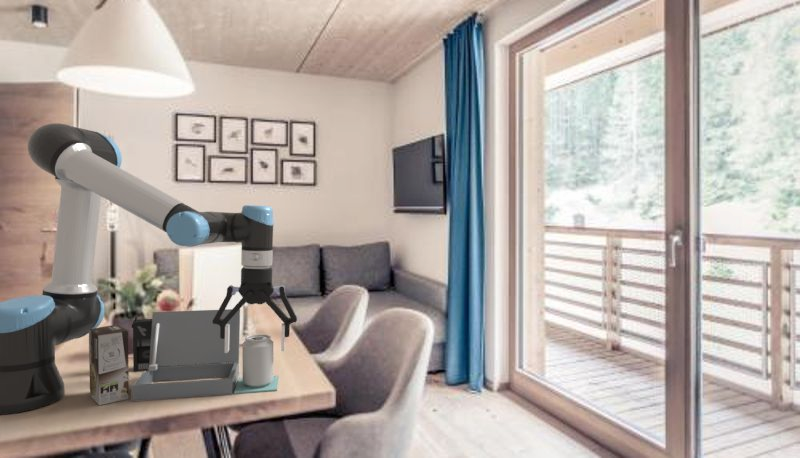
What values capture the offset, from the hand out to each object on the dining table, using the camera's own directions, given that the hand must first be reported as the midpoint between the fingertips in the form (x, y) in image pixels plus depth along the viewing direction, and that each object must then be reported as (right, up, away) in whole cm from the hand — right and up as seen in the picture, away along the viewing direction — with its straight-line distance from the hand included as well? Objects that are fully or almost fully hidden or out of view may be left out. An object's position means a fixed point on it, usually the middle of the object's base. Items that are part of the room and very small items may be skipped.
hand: (255, 350), depth 120 cm
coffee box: (-32, -9, -8) cm, 34 cm away
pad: (0, -9, 0) cm, 9 cm away
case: (-17, -9, +1) cm, 19 cm away
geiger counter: (-33, -8, +13) cm, 36 cm away
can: (+1, -9, 0) cm, 9 cm away
